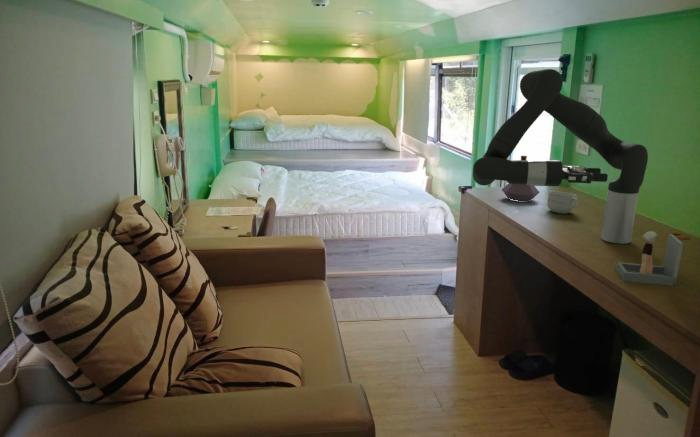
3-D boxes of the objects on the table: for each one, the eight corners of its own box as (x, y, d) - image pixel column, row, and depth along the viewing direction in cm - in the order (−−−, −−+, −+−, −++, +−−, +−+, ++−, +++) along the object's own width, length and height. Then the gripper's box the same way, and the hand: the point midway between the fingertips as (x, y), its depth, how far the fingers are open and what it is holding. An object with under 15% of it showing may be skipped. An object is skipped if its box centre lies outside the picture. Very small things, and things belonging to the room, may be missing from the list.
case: (615, 270, 153) (622, 230, 150) (665, 274, 150) (672, 234, 147) (623, 280, 145) (629, 239, 141) (675, 286, 141) (683, 243, 138)
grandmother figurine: (653, 280, 143) (661, 235, 140) (637, 278, 144) (645, 234, 141) (650, 271, 150) (657, 228, 146) (635, 269, 151) (642, 226, 148)
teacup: (541, 209, 223) (543, 190, 221) (564, 208, 225) (567, 190, 223) (559, 217, 210) (562, 198, 207) (584, 216, 211) (587, 197, 209)
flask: (501, 194, 249) (505, 152, 243) (538, 197, 244) (543, 154, 238) (499, 202, 234) (503, 157, 228) (538, 205, 229) (543, 159, 223)
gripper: (547, 164, 145) (611, 165, 142) (541, 156, 159) (599, 157, 155) (545, 190, 147) (608, 193, 144) (539, 181, 161) (596, 182, 157)
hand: (603, 174), depth 150 cm, fingers open, 8 cm apart
